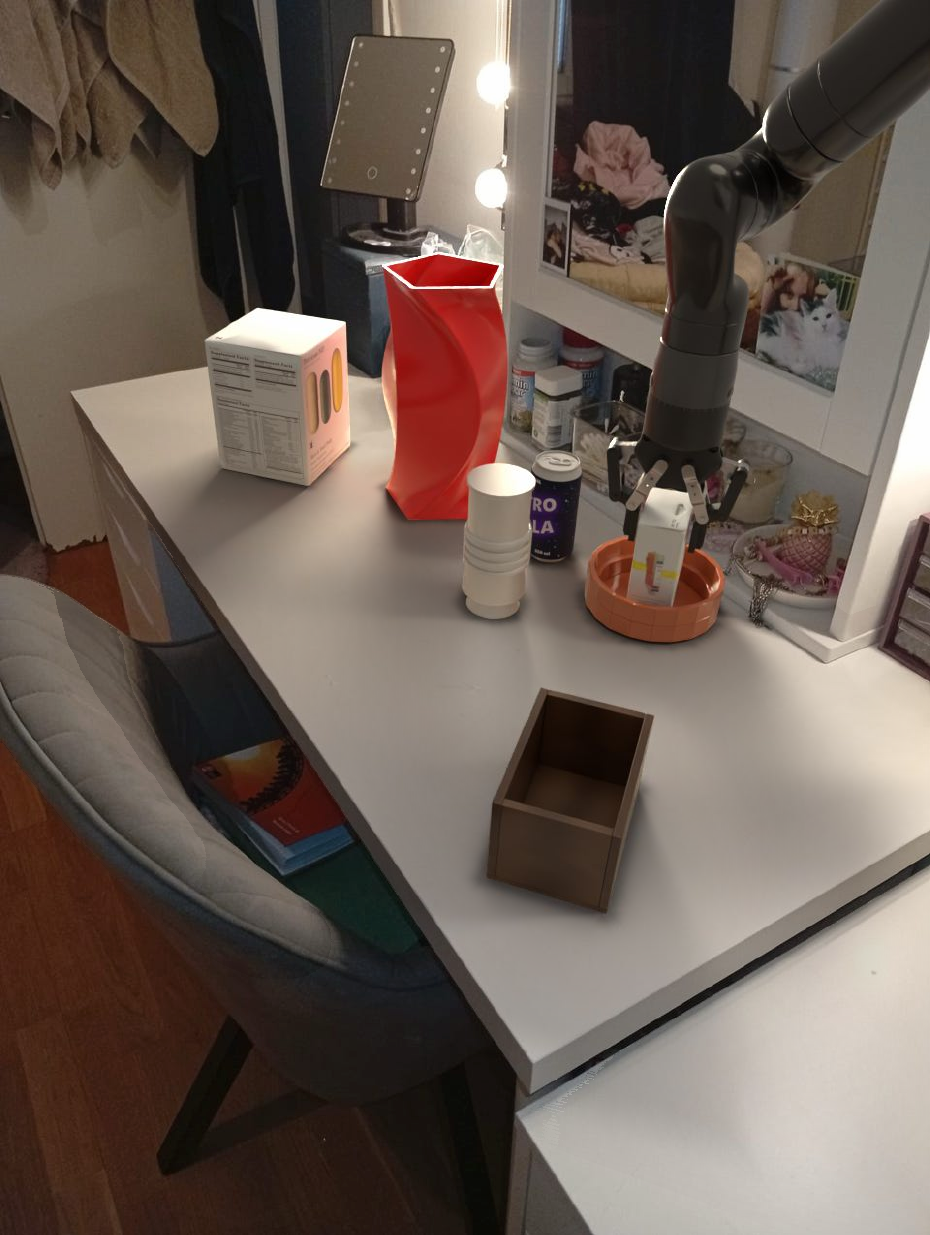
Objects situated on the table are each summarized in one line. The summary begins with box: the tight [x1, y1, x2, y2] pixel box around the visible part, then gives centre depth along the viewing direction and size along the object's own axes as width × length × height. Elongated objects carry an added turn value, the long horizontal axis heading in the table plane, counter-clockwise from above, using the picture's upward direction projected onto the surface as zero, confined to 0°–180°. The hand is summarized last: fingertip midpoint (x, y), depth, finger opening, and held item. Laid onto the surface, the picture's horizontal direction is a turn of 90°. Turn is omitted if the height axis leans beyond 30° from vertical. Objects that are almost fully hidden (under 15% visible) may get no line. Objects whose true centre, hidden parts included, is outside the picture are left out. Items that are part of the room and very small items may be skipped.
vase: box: [381, 252, 509, 521], centre depth 111 cm, size 15×14×28 cm
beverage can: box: [529, 449, 584, 563], centre depth 105 cm, size 6×6×12 cm
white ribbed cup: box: [461, 462, 535, 620], centre depth 96 cm, size 7×7×15 cm
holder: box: [486, 687, 655, 914], centre depth 73 cm, size 9×13×8 cm
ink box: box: [627, 487, 694, 607], centre depth 97 cm, size 9×5×12 cm, turn 162°
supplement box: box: [204, 307, 351, 487], centre depth 121 cm, size 13×13×18 cm
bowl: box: [583, 535, 726, 643], centre depth 100 cm, size 14×14×4 cm
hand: (661, 543), depth 96 cm, fingers open, 5 cm apart
